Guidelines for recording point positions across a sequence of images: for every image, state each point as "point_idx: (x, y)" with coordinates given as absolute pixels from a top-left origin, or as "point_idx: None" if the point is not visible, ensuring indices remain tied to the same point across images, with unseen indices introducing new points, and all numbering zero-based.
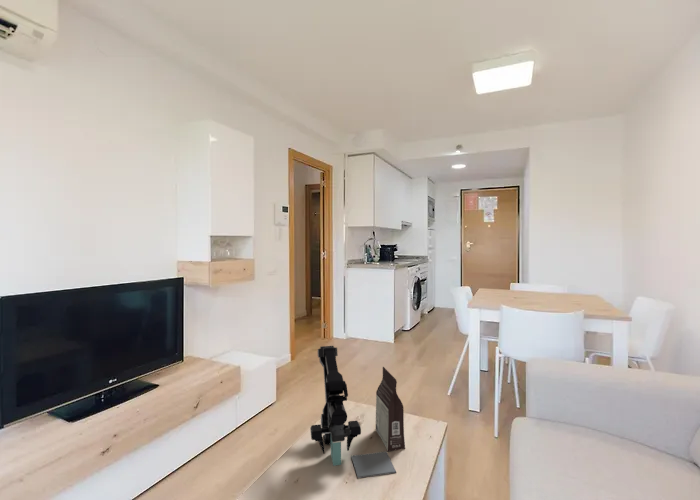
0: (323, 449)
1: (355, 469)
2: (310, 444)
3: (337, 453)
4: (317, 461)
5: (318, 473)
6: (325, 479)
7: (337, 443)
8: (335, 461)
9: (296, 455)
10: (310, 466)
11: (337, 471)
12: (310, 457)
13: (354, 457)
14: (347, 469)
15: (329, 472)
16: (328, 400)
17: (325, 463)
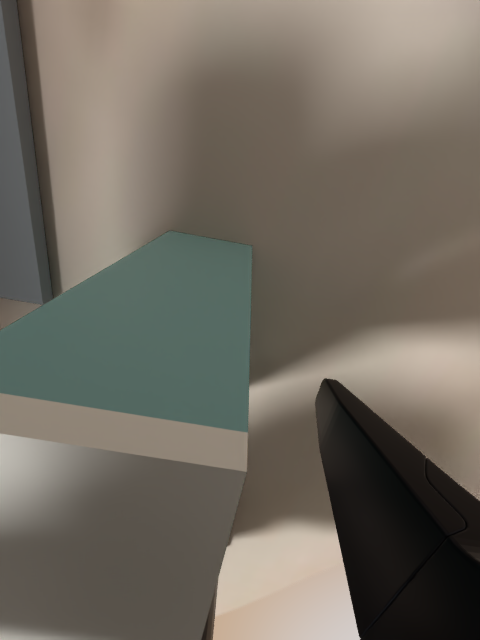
0: (359, 414)
1: (8, 34)
2: (326, 520)
3: (178, 273)
4: (365, 354)
5: (450, 177)
6: (439, 10)
7: (87, 374)
8: (225, 249)
9: (474, 466)
10: (457, 315)
11: (240, 125)
12: (393, 415)
13: (11, 267)
14: (118, 115)
15: (332, 144)
16: None
17: (311, 304)
